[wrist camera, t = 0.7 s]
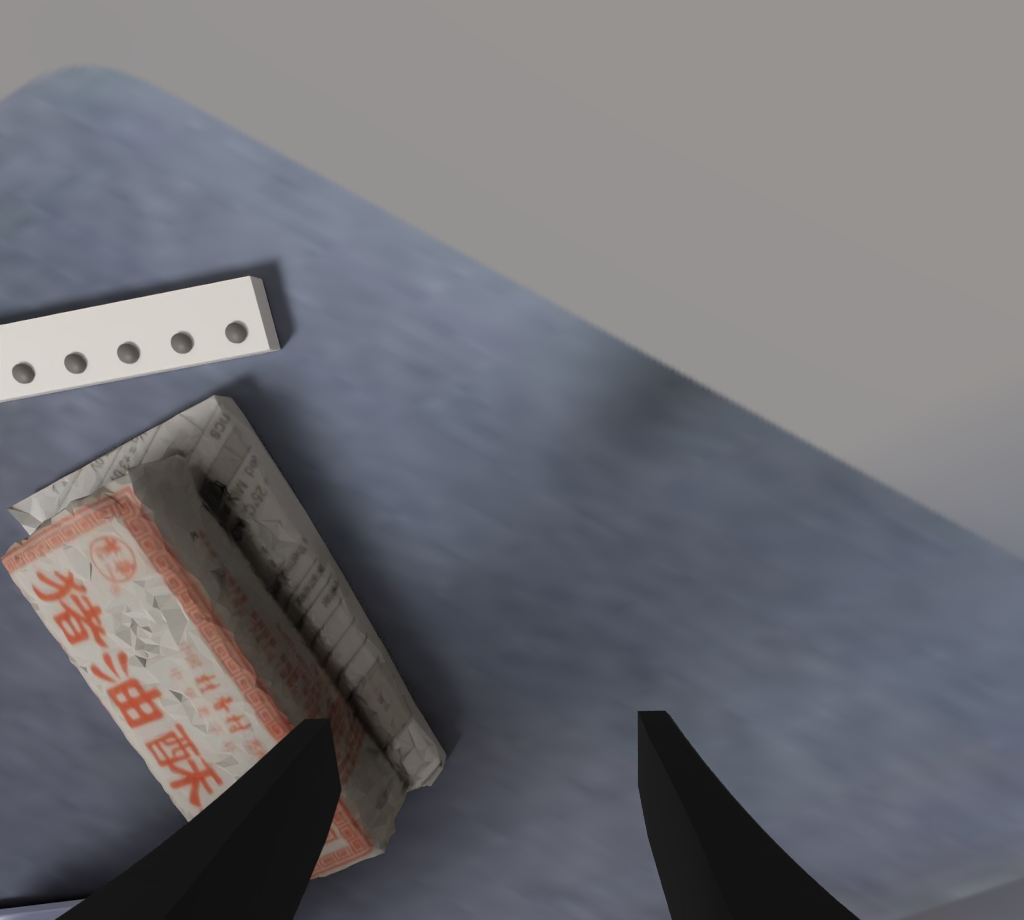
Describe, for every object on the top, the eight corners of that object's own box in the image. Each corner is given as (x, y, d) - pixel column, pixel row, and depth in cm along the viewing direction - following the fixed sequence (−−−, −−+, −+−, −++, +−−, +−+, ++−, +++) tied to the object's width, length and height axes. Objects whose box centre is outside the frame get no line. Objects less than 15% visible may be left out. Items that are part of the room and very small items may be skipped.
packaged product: (438, 858, 18) (206, 947, 19) (457, 750, 22) (270, 827, 23) (144, 399, 14) (-115, 541, 15) (239, 387, 19) (35, 496, 20)
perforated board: (-116, 424, 19) (-147, 427, 18) (-145, 359, 19) (-178, 359, 18) (281, 349, 18) (268, 349, 17) (261, 279, 18) (248, 275, 17)
